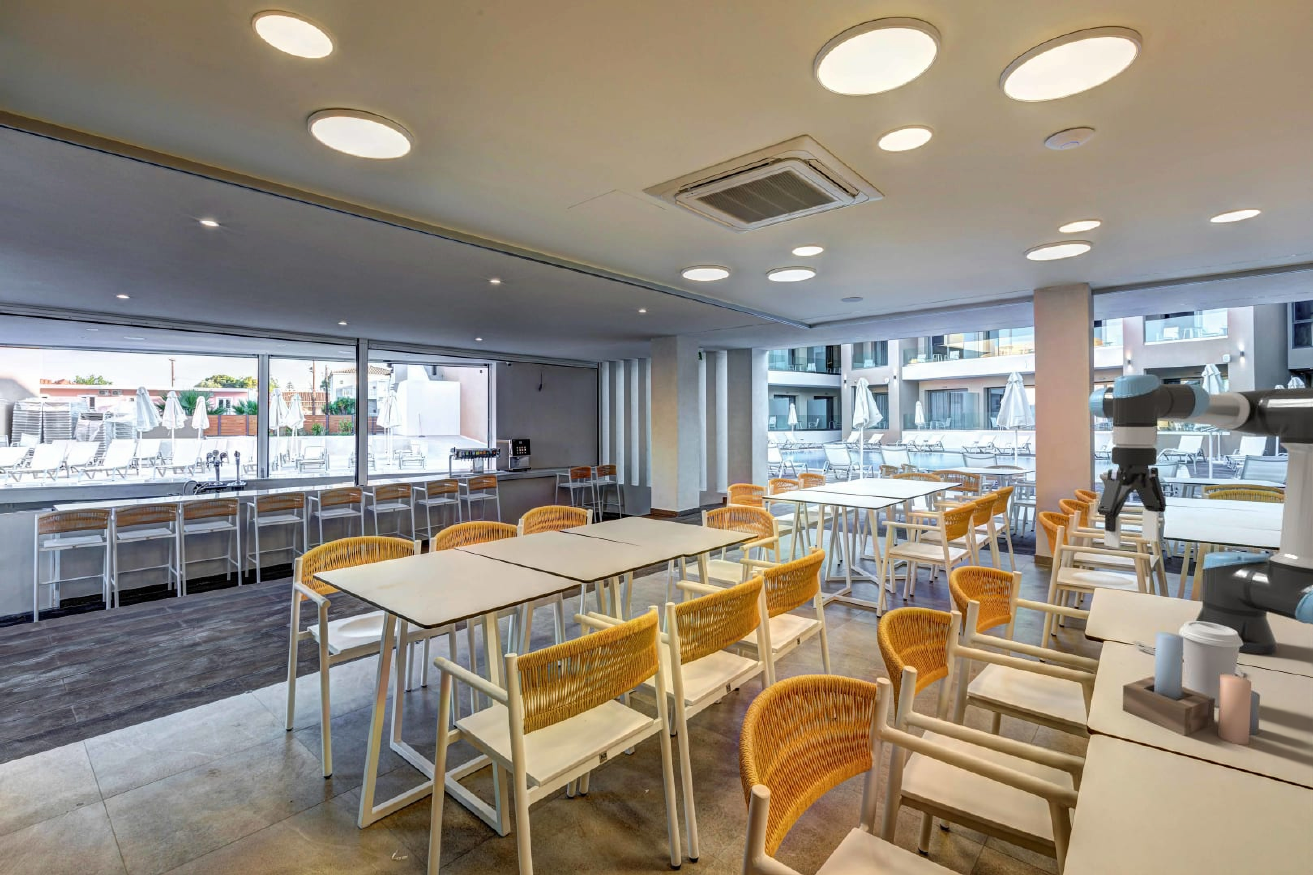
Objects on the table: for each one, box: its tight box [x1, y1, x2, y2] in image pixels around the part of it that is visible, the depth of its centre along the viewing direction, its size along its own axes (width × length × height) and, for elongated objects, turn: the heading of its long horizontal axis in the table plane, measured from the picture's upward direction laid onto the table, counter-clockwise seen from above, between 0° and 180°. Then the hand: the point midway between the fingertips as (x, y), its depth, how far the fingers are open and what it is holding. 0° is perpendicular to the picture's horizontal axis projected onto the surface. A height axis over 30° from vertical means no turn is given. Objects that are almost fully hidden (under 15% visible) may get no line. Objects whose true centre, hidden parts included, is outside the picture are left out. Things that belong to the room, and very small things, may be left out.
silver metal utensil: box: [1132, 640, 1245, 678], centre depth 137 cm, size 20×4×5 cm
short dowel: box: [1249, 689, 1261, 735], centre depth 108 cm, size 4×4×7 cm
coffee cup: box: [1178, 620, 1243, 708], centre depth 119 cm, size 10×10×15 cm
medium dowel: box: [1217, 674, 1252, 746], centre depth 105 cm, size 4×4×11 cm
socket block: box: [1122, 675, 1216, 737], centre depth 112 cm, size 10×10×5 cm
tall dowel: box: [1154, 631, 1184, 701], centre depth 112 cm, size 4×4×16 cm
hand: (1131, 543), depth 126 cm, fingers open, 13 cm apart
